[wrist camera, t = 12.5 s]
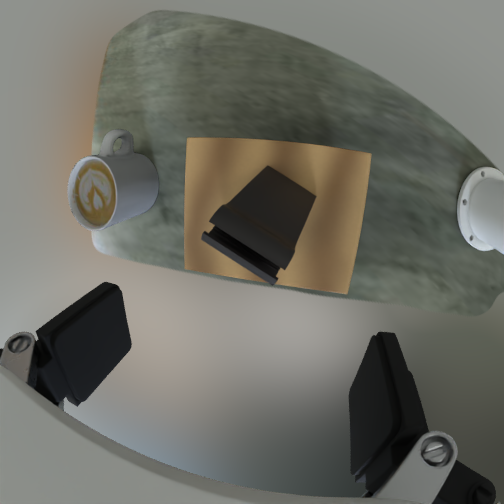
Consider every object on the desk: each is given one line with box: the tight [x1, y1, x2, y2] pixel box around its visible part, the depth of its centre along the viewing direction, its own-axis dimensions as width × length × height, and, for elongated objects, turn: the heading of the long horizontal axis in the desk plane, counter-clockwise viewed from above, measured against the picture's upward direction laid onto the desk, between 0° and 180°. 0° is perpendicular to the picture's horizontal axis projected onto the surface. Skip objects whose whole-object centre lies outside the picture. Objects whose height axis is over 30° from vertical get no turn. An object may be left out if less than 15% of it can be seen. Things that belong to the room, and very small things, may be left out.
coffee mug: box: [68, 129, 159, 231], centre depth 34 cm, size 13×10×10 cm
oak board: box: [184, 137, 371, 294], centre depth 30 cm, size 20×16×1 cm
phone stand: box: [201, 165, 317, 285], centre depth 24 cm, size 9×6×12 cm, turn 149°
